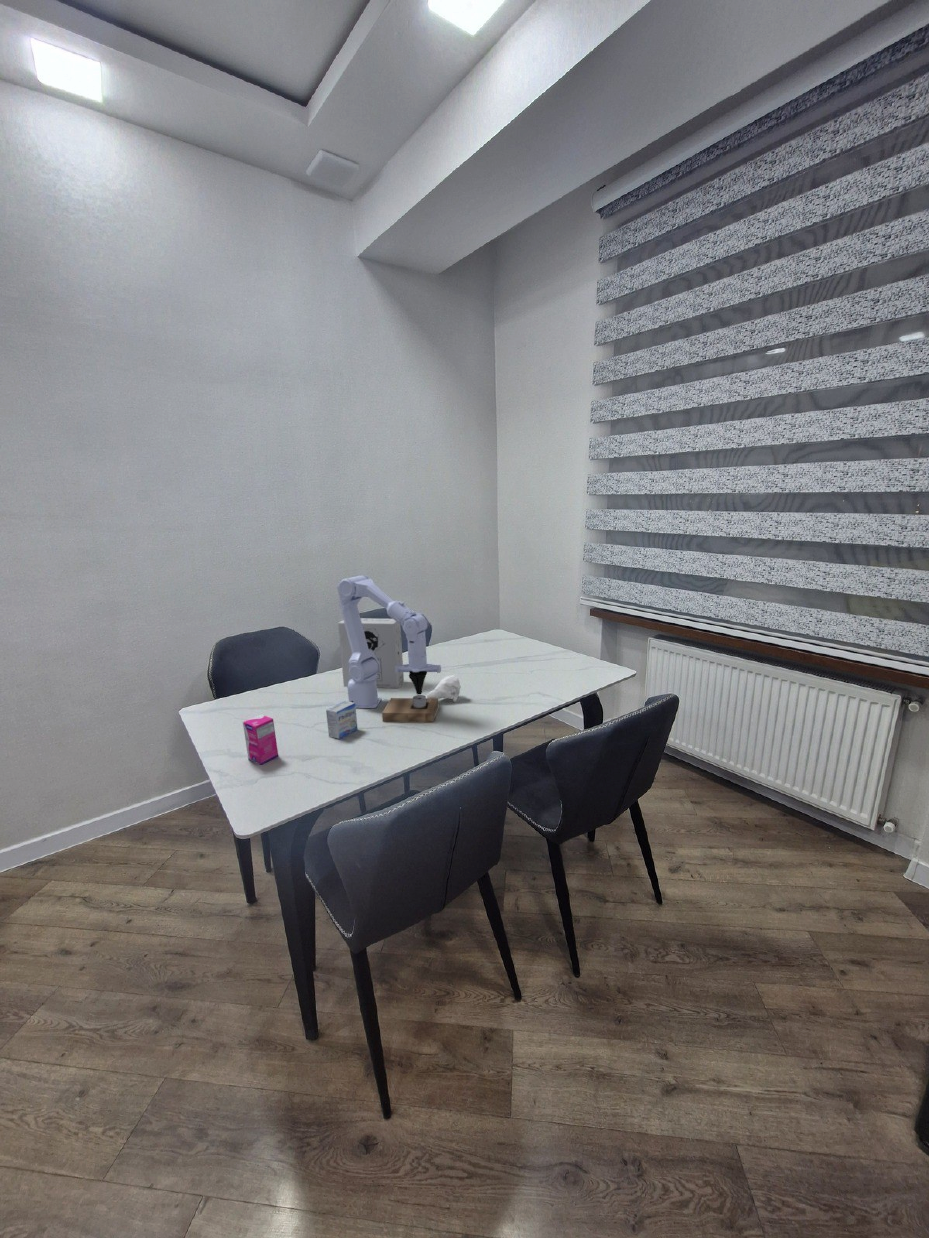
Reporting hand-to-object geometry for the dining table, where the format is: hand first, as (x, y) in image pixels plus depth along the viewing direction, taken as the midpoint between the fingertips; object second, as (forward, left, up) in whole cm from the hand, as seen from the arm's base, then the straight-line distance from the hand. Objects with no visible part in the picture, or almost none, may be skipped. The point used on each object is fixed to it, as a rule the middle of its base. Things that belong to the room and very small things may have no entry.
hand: (419, 693), depth 158 cm
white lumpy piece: (+6, +11, -8) cm, 15 cm away
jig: (-3, 0, -7) cm, 8 cm away
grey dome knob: (0, 0, -7) cm, 7 cm away
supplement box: (-38, -30, -7) cm, 49 cm away
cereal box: (-23, +27, -8) cm, 36 cm away
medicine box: (-21, -14, -8) cm, 26 cm away
